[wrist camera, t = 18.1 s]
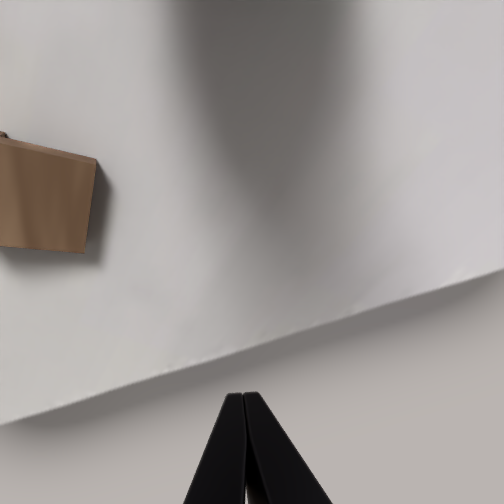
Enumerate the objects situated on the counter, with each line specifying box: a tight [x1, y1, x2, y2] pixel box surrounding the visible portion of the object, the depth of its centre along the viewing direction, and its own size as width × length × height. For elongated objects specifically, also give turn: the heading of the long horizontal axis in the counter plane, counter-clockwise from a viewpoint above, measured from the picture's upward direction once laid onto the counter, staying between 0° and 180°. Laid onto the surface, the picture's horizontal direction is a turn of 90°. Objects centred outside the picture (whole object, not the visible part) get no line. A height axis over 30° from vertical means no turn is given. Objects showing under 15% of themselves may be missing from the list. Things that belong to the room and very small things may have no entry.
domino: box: [0, 137, 96, 253], centre depth 15 cm, size 2×5×6 cm
